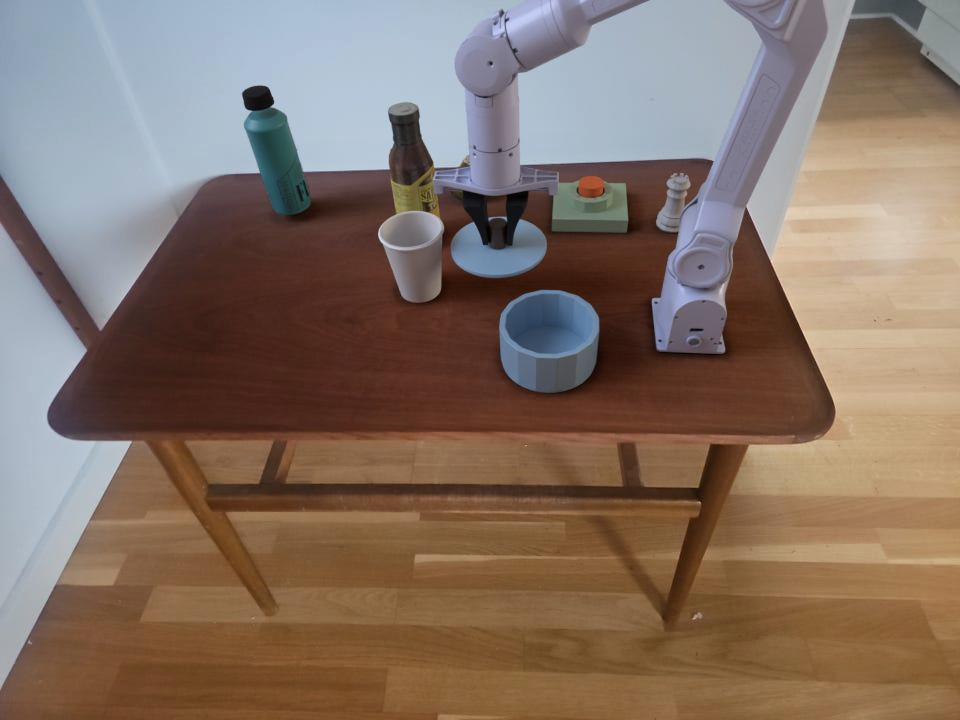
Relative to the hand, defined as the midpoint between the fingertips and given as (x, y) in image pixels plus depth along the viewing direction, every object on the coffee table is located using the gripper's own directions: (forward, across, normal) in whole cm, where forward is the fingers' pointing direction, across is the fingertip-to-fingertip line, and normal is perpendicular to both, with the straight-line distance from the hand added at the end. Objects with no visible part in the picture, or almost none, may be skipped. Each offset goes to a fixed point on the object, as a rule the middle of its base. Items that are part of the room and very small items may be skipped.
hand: (498, 240), depth 81 cm
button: (+5, -12, -19) cm, 23 cm away
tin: (+9, -7, +12) cm, 16 cm away
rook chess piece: (+9, -24, -16) cm, 30 cm away
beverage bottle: (+9, +35, -18) cm, 41 cm away
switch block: (+9, -12, -19) cm, 24 cm away
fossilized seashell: (+9, +6, -25) cm, 27 cm away
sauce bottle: (+9, +13, -12) cm, 20 cm away
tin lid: (+1, 0, 0) cm, 1 cm away
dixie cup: (+9, +11, 0) cm, 14 cm away
